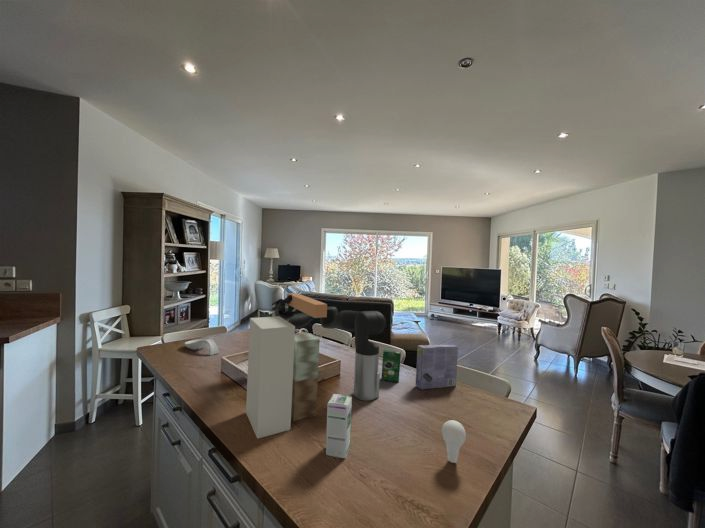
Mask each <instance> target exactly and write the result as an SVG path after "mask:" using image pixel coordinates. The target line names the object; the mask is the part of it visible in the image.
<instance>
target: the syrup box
mask: <svg viewBox="0 0 705 528" xmlns="http://www.w3.org/2000/svg"><path fill="white" fill-rule="evenodd" d="M352 399H353V397H352V396H351V395H347V394H339V393H333V394H332V395H331V397H330V399H329V400H328V402H327V404H326V406H327V409H326V437H325V439H326V442H325V455H326V456H329V457H334V458H339V459H345V460H346V458H347V457H348V454H349V451H350V448H351V439H352V438H351V437H352V436H351V435H352V406H353V405H352V403H353V401H352Z"/></svg>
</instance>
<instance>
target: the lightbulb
mask: <svg viewBox="0 0 705 528" xmlns="http://www.w3.org/2000/svg"><path fill="white" fill-rule="evenodd" d="M441 434H442V437H443V440H444V442H445V446H446V452H447V453H446V455H447V458H446V459H447V460H448V462H450V463H451V464H454V463H457V462H458V457H459V454H460V449H461V447H462V446H463V444H464V443H465V441H466V439H467V437H466V436H467V433H466V429H465V428H464V426H463V424H462V423H460V422H459V421H457V420H454V419H450V420H447V421H445V422H444V424H443V425H442V428H441Z"/></svg>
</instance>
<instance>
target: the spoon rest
mask: <svg viewBox="0 0 705 528" xmlns="http://www.w3.org/2000/svg"><path fill="white" fill-rule="evenodd" d="M207 345H208V346H209V356H210V355H211V356H215V355H217V353H218V354H219V348H218V346H217V344H216V342H215V341H214V340H213V339H212V338H201V339H200V338H197V339H192V340H188V341H185V342H184V346H185V347H187V348H188V349H190V350H193V351H196V350H197V349H198V350H202V349H203V348H205V347H206V346H207ZM198 350H197V351H198ZM214 354H215V355H214Z"/></svg>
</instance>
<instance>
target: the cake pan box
mask: <svg viewBox="0 0 705 528" xmlns="http://www.w3.org/2000/svg"><path fill="white" fill-rule="evenodd" d="M416 350H417V351H416V367H415V368H416V369H415V386H416V387H417V388H419V390H429V389H431V390H432V389H441V388H442V389H443V388H449V387H456V386H457V373H458V372H457V371H458V354H459V346H458V345H455V344H426V345H425V344H420V345H417V349H416Z"/></svg>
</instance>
